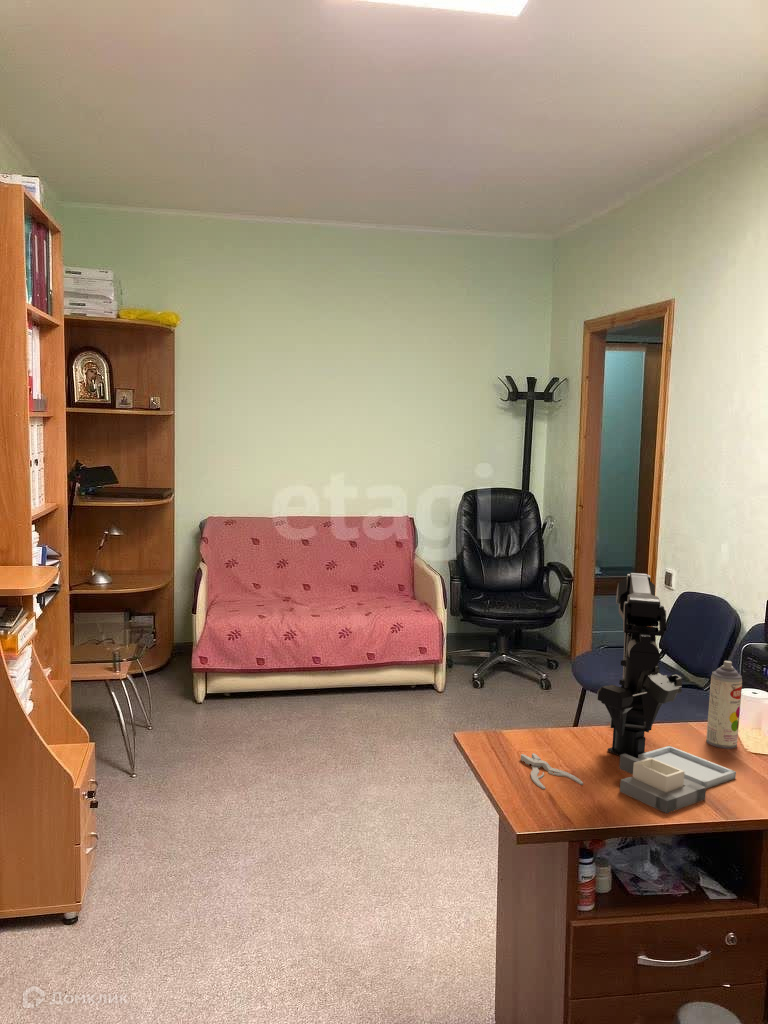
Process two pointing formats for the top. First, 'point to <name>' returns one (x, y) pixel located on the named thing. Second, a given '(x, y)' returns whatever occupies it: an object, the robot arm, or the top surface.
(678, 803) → the bay
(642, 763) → the box
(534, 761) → the pliers
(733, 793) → the top surface
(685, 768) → the tray
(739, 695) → the aerosol can
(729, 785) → the top surface
